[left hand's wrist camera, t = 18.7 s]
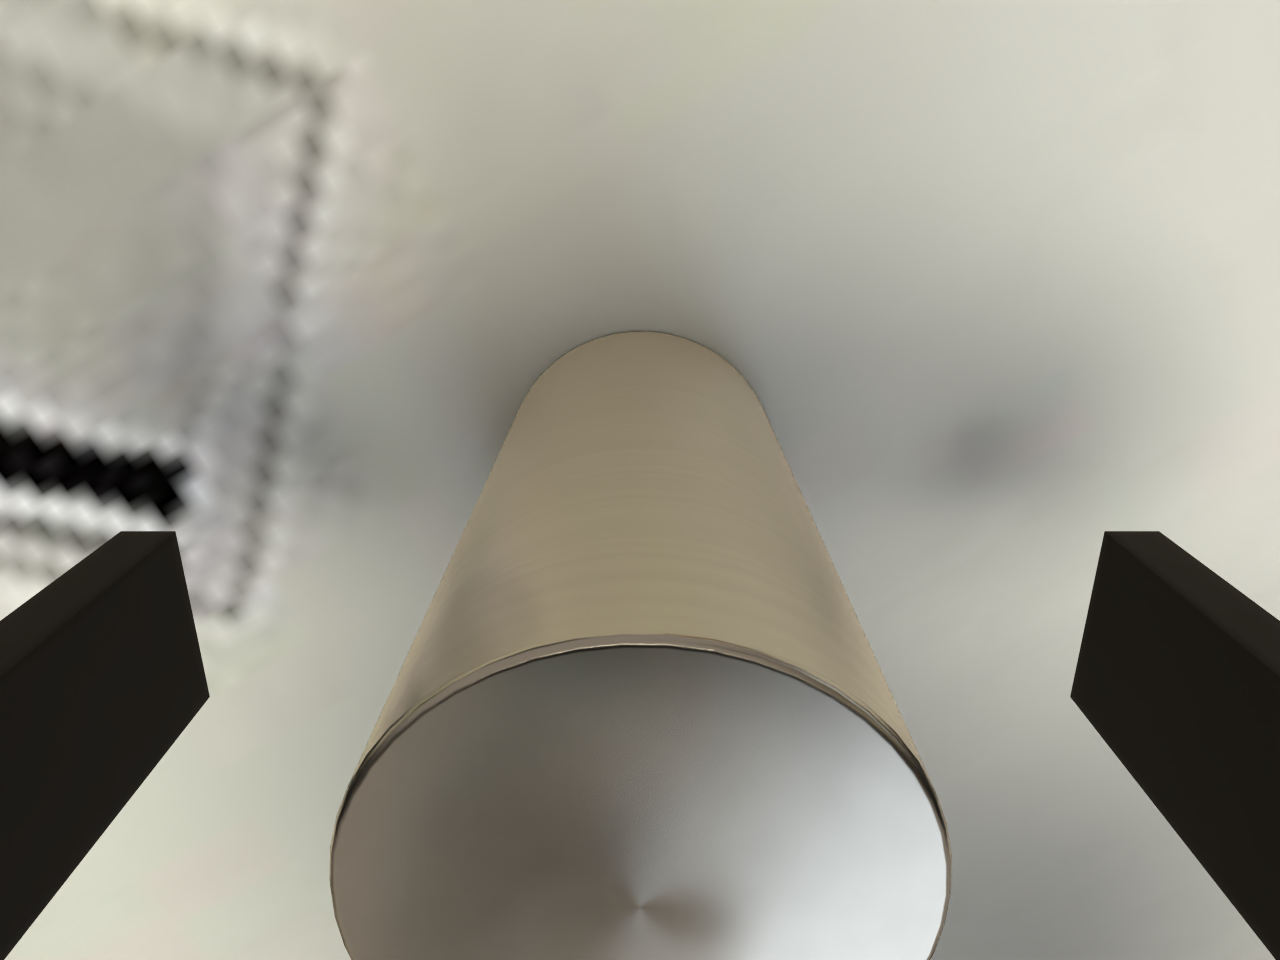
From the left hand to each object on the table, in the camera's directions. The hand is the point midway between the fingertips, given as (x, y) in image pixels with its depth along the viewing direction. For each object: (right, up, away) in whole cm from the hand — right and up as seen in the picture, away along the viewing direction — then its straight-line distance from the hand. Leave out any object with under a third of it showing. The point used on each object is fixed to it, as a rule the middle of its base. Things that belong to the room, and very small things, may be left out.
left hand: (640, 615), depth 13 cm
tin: (0, +2, +6) cm, 6 cm away
